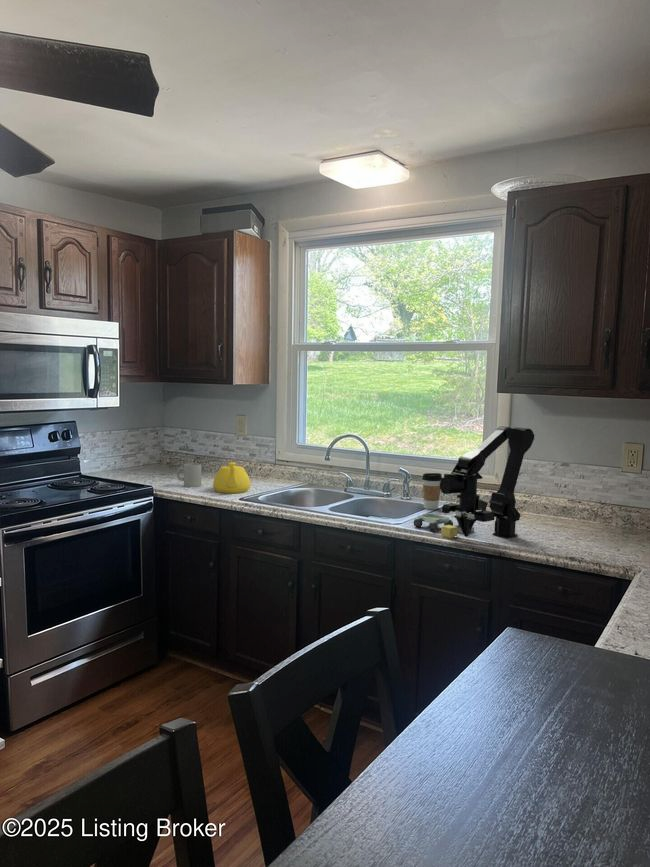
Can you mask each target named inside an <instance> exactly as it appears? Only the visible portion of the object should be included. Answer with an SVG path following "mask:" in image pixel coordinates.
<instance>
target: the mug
mask: <svg viewBox="0 0 650 867" xmlns="http://www.w3.org/2000/svg"><path fill="white" fill-rule="evenodd" d="M177 468H178V469H177V470H176V477H177V480H178V481H181V482H183V487H184V486H185V488H190V487H194V488H201V487H200V486H202V463H197V462H189V463H184V464H183V466H181V467H177ZM180 471H183V477H181V476H180Z"/></svg>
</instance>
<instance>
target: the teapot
mask: <svg viewBox="0 0 650 867" xmlns="http://www.w3.org/2000/svg"><path fill="white" fill-rule="evenodd" d="M236 464H237V462H235V461H234V462H228V465H224V466H221V467H220V468H219V470H218V471H217V473H216V475H215V476H214V479H213V483H212V486H213V489H214V490H215V491H216V492H218V493H220V492H221V494H242V492H243V493H247V491H248V490H249V489H250V488H251V480H250V477H249V474H248V473H247V470H245V468H244V467H243V466H241V465H236Z"/></svg>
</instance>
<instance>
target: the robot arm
mask: <svg viewBox="0 0 650 867" xmlns="http://www.w3.org/2000/svg"><path fill="white" fill-rule="evenodd" d="M534 440H535V433H534V431H533V430H532V429H531V428H527V427H517V426H516V427H509V426H505V425H504V426H503V425H501V426H498V427H496V428H495V431H494V432H492V434H490V435H489V436H488V437H487V438H486V439H485V440H484V441H483V442H481V444H479V445H478V446H477V447H476V448H474V449H473V450H470V451H468V452H465V453H464V454H462V455H461V456H460V457H458V460H457V462H456V464H455V466H454V467H453V470H452V471H451V473H443V477H442V479H441V482H440V492H441V493H443V494H444V495H449V494H450V495H451V494H456V498H457V499H459V501H458V503H453V502H450V503H444V504H443V505H442V507H441V513H444V514H449V513H450V512H452V513H453V512H454V513H455V515H454V516H453V518H454V519H456V521H457V524H458V523H459V525H460V527H461V529H462V532H463V534H462V535H463V537H465V538H468V537H469V536H470V531H471V529H472V527H474V524H475V523H476V522H477V521H478V522H482V523H485V522H486V523H487V522H492V521H494V532H493V533H492V535H493V536H497V537H501V538H505V539H511V538H514V537H518V533H516V525H517V524H516V523H517V521H520V519H521V513H520V512H519V511H518V509H517V508H516V501H517V500H516V496H515V490H516V489H515V488H516V485H517V482H518V479H519V474H520V471H521V467H522V464H523V460H524V456H525V454H526V453H527V452H528V451H529V450H530V449H531V448H532V445H533V442H534ZM506 441H507V443H508V447H509V454H508V457H507V461H506V464H505V468H504V472H503V476H502V479H501V483H500V485H499V489H498V490H497V491H492V493H491V494H490V495H491V497H490V500H489V502H487V501H484V500H481V499H480V495H479V494H477V493H478V480H483V478H484V477H483V476H482V475H481V474H480V473H479V472H480V471H481V470H482V468H483V467H484V466H485V464H486V460H487V459H488V458H489V457H490V455H492V454H493V453H494V452H495V451H496V450H497V449H498V448H499V447H500V446H502V445H503V444H504V443H505V442H506ZM488 504H489V509H490V510H487V507H488ZM464 511H466V512H464Z"/></svg>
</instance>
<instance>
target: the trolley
mask: <svg viewBox="0 0 650 867" xmlns="http://www.w3.org/2000/svg"><path fill="white" fill-rule="evenodd" d="M423 522H424V523H429V524H428V529H429V531H430V532H431V531H433V532H437V531H438V529H439V525H441V524H443V526H445V525H452V526H454V522H453V520H452V519H450V517H449V516H443V515H439V514H435V513H424V514H418V516H417V518H415V519H414V520H413V526H414V527H415V526H416V527H415V528H417V527H418V528H422V527H423ZM421 526H422V527H421ZM433 532H432V533H433Z"/></svg>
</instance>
